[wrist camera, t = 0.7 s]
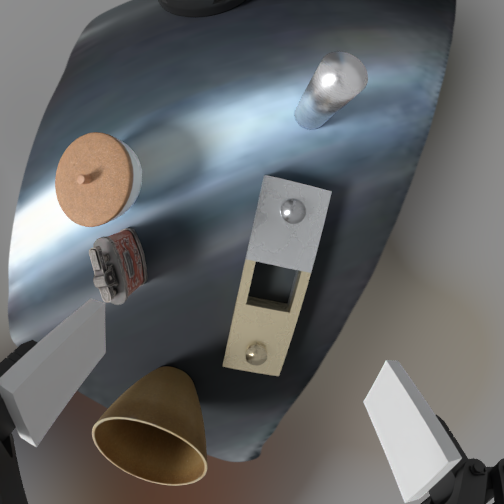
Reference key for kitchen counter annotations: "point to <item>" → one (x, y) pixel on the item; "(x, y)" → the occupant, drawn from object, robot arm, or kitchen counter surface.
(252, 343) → the frame
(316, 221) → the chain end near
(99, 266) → the lighter
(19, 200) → the kitchen counter surface
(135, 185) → the lidded jar
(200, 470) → the plant pot
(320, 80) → the pin
